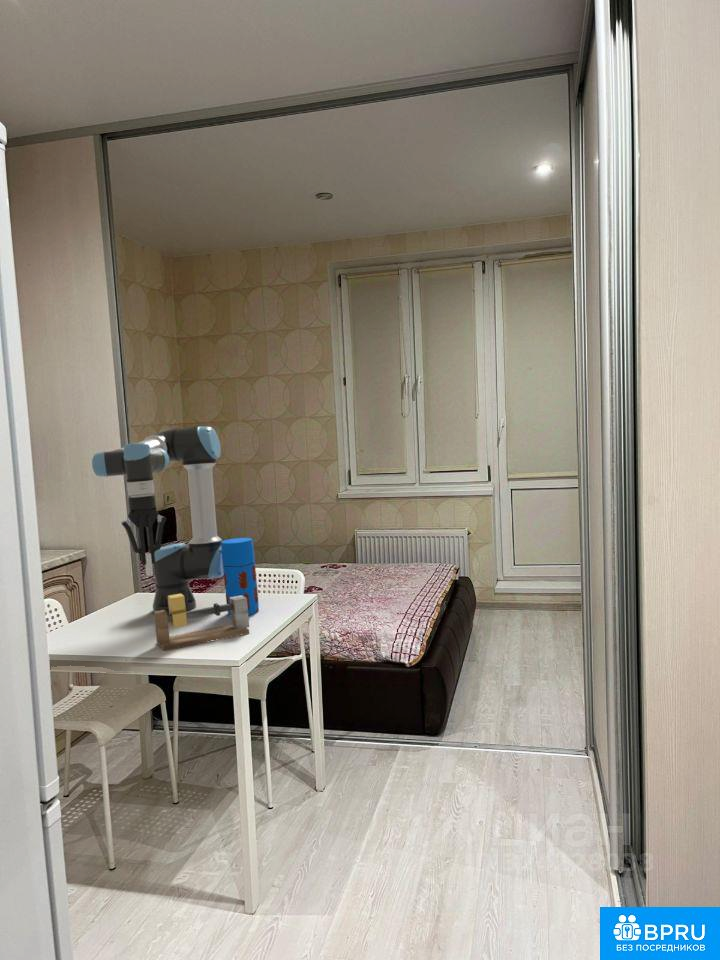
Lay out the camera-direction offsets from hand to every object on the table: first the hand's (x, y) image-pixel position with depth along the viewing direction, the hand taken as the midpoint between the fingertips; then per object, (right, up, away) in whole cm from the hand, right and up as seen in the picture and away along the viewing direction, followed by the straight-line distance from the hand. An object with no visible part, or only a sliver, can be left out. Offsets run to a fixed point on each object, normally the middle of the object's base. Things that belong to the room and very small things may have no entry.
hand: (149, 575), depth 221 cm
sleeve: (+8, -16, +4) cm, 18 cm away
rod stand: (+14, -20, +8) cm, 26 cm away
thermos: (+22, -18, +37) cm, 46 cm away
